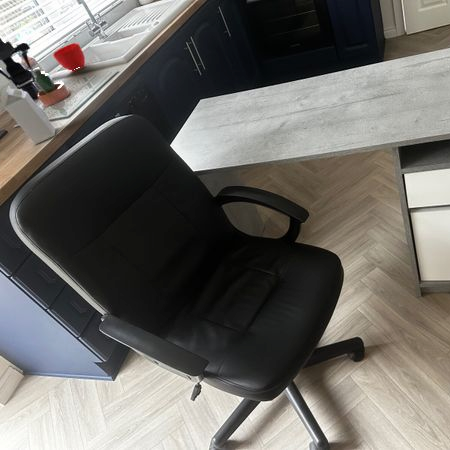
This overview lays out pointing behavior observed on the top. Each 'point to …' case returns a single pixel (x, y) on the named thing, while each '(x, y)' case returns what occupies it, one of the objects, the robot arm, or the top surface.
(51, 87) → the green bottle
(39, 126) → the milk carton
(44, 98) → the pot
